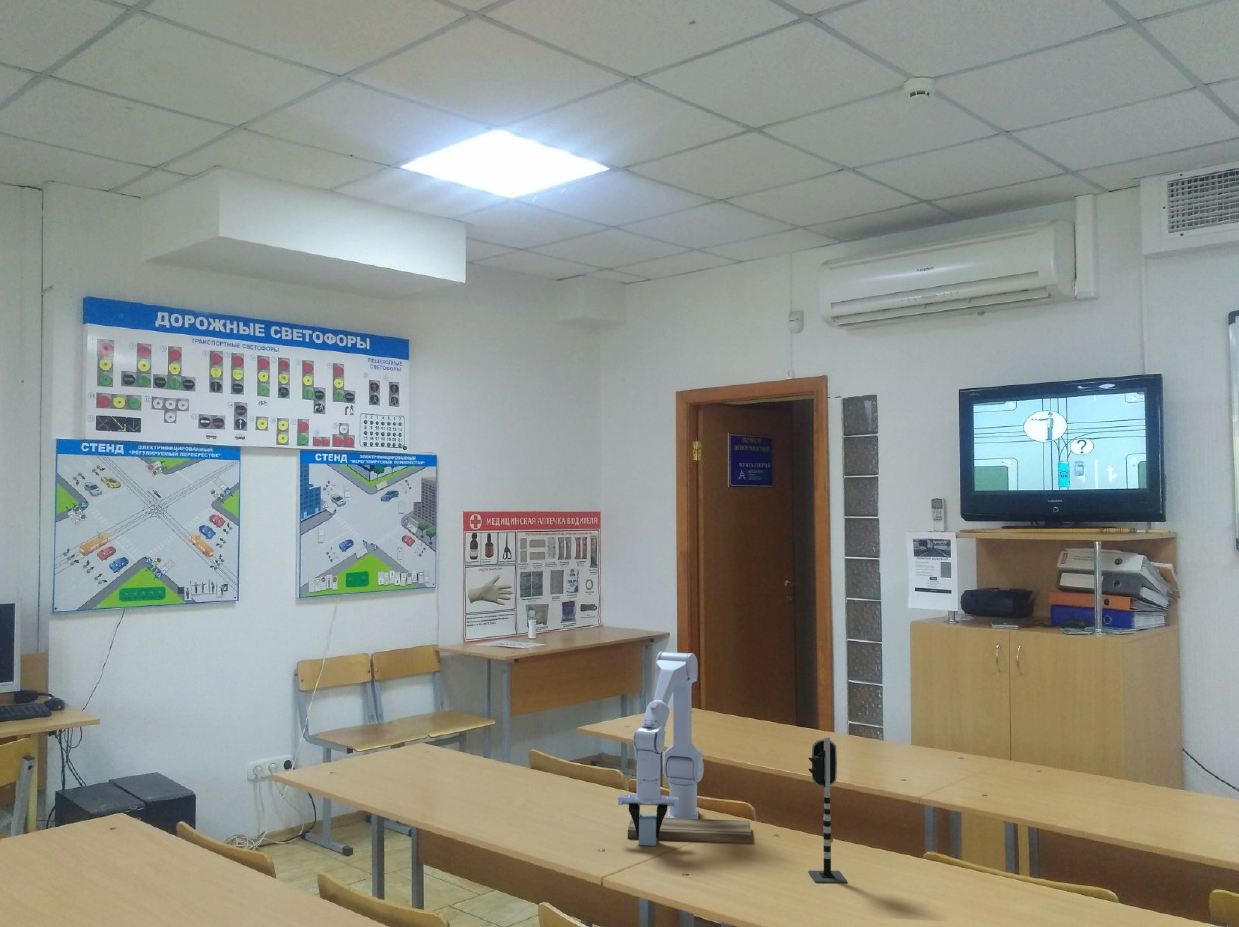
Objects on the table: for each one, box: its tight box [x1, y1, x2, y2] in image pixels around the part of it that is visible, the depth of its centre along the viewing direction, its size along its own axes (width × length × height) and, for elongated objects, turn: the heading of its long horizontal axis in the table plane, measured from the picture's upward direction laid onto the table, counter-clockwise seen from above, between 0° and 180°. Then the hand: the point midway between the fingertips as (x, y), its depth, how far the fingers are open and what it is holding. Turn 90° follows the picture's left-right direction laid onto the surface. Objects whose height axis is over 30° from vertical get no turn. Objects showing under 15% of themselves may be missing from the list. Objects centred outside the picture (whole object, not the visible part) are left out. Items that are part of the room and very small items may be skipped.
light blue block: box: [638, 813, 658, 847], centre depth 242 cm, size 8×4×6 cm, turn 175°
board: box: [627, 816, 753, 844], centre depth 249 cm, size 12×30×2 cm, turn 85°
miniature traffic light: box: [807, 736, 848, 884], centre depth 219 cm, size 8×8×30 cm
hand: (647, 836), depth 241 cm, fingers closed on light blue block, 4 cm apart
